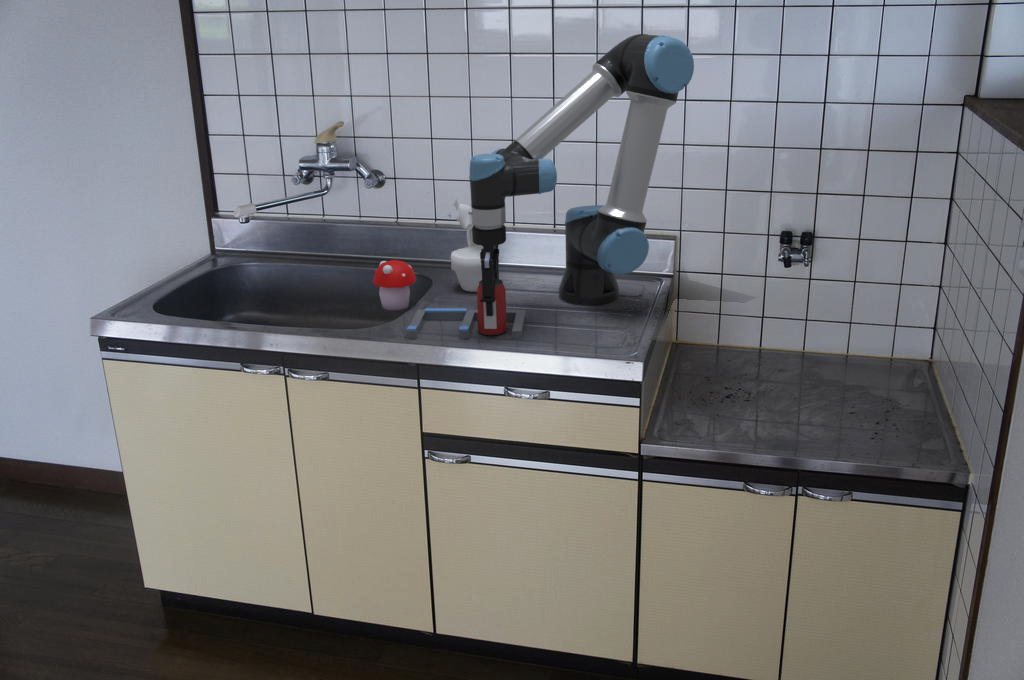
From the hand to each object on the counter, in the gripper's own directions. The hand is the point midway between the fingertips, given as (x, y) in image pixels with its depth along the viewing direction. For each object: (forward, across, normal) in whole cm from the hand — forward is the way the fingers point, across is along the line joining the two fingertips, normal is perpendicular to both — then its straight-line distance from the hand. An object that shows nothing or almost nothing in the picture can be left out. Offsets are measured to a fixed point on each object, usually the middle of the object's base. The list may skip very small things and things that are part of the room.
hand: (492, 322), depth 223 cm
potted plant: (+2, -32, -8) cm, 33 cm away
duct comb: (+2, -2, -6) cm, 7 cm away
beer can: (+2, 0, 0) cm, 2 cm away
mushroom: (+2, -18, -26) cm, 32 cm away
